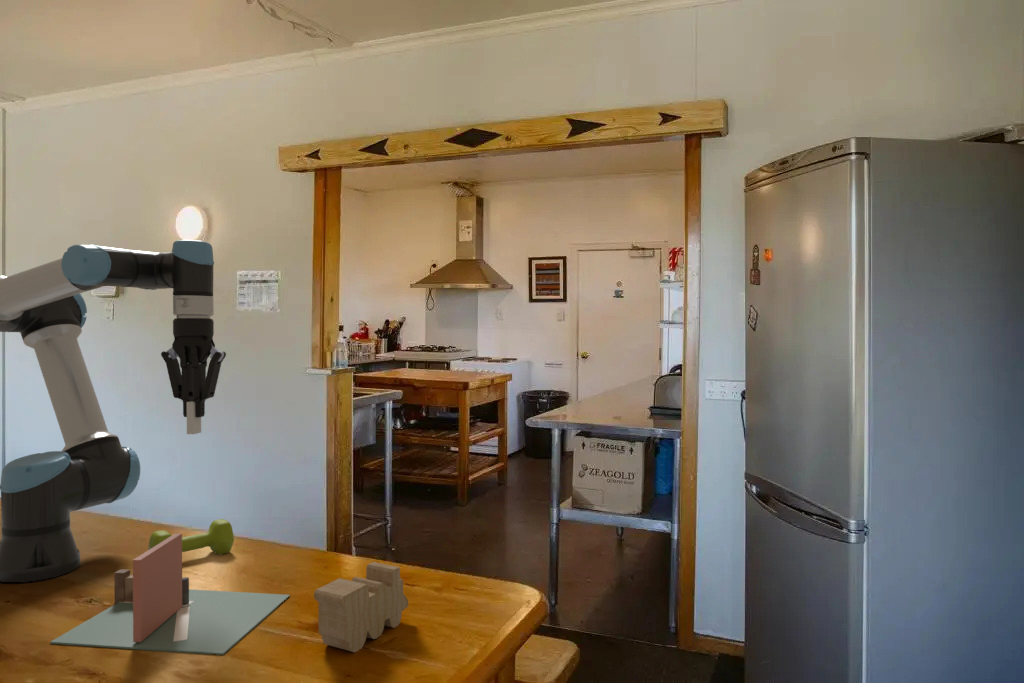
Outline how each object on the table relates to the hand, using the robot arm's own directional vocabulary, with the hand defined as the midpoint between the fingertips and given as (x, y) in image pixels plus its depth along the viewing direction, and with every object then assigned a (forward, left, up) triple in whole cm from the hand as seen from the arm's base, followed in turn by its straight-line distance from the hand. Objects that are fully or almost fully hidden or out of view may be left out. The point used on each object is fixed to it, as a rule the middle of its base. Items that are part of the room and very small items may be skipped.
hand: (194, 433), depth 143 cm
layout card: (+10, -22, -28) cm, 37 cm away
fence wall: (+2, -16, -28) cm, 33 cm away
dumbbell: (-5, +7, -29) cm, 30 cm away
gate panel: (+9, -25, -28) cm, 39 cm away
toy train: (+44, -24, -29) cm, 58 cm away
